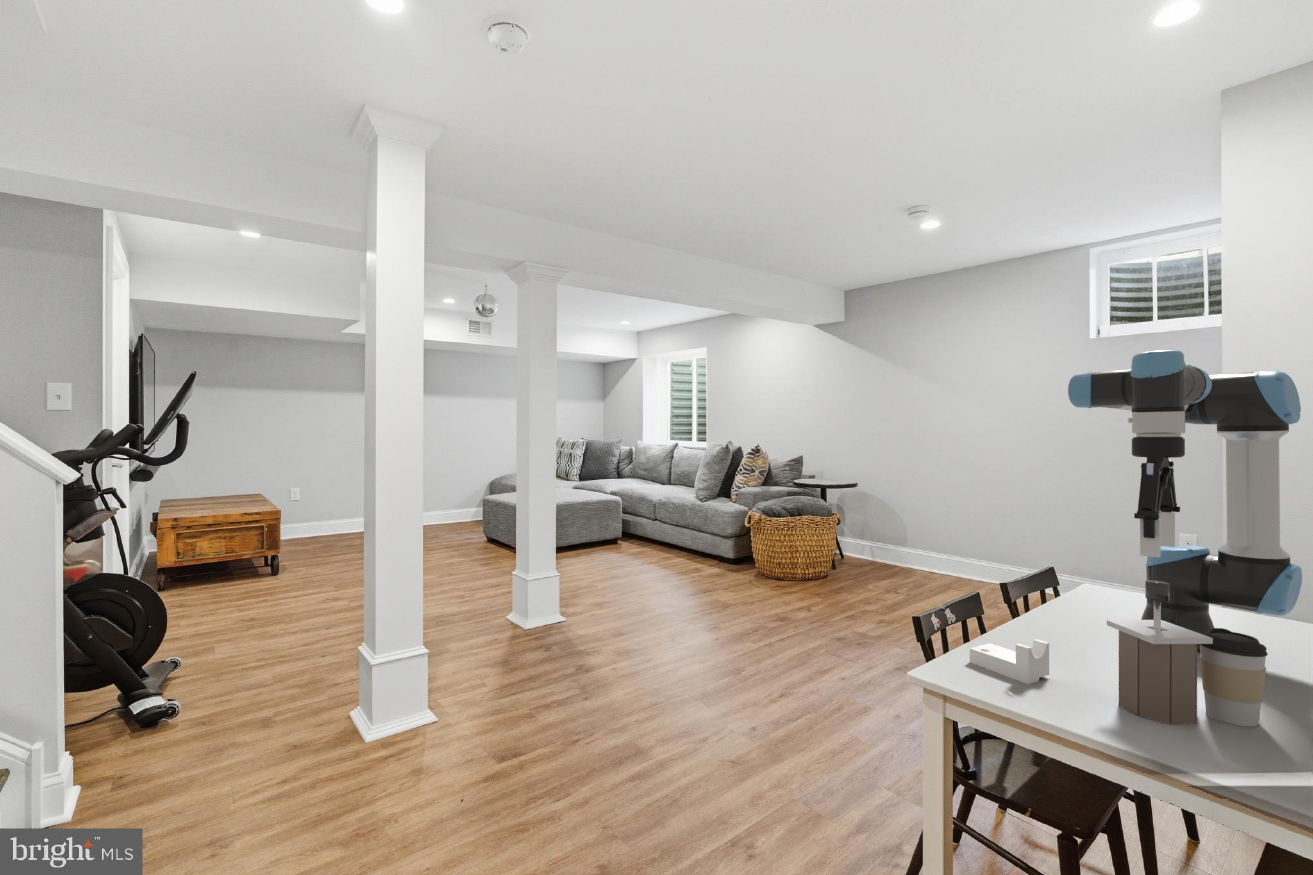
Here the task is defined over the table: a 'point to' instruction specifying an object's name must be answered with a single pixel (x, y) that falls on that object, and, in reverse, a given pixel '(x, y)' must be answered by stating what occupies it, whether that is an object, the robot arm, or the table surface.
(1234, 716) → the coffee cup
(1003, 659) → the bracket
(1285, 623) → the table surface
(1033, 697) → the table surface
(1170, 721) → the brown pedestal
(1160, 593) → the plunger
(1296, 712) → the table surface
